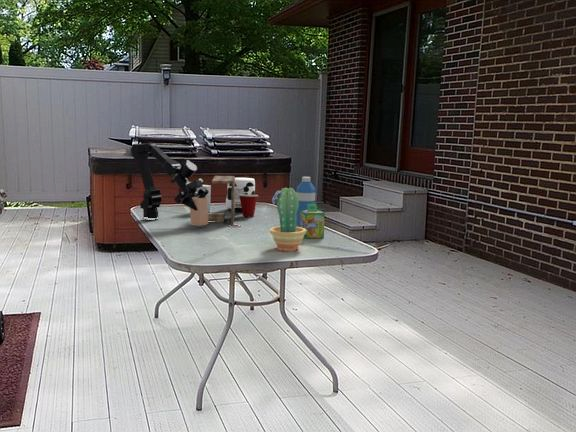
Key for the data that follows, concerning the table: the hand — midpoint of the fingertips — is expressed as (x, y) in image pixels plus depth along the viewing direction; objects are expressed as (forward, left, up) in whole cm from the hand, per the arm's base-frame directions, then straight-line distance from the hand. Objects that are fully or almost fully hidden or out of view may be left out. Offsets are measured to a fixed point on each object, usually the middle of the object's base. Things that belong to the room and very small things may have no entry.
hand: (200, 209), depth 279 cm
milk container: (+4, +57, -9) cm, 57 cm away
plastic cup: (+13, +39, -9) cm, 42 cm away
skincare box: (-14, +41, -9) cm, 44 cm away
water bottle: (+48, +14, -9) cm, 51 cm away
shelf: (+2, +22, -9) cm, 24 cm away
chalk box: (+54, -4, -9) cm, 55 cm away
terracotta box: (-1, 0, -7) cm, 7 cm away
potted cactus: (+48, -31, -9) cm, 58 cm away
